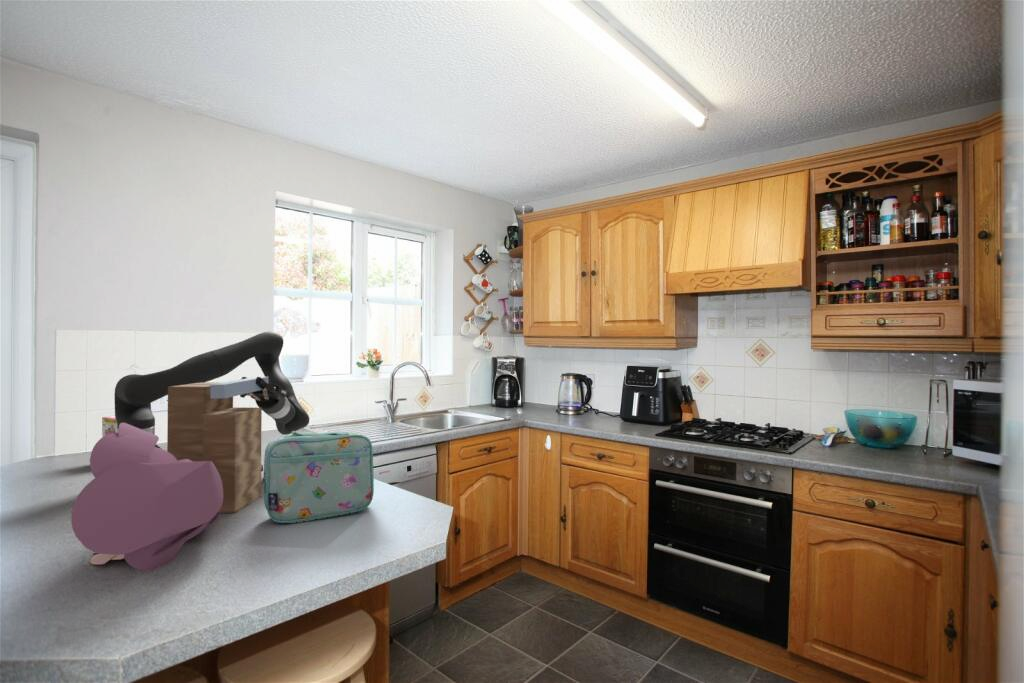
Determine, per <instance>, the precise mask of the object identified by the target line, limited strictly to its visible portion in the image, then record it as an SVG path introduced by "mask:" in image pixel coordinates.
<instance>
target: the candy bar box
mask: <svg viewBox="0 0 1024 683" xmlns="http://www.w3.org/2000/svg"><path fill="white" fill-rule="evenodd" d="M101 418H102V419H101V420H102V423H101V424H102V432H101V435H102V437H104V436H106V435H108V434H112V433H117V421H116V418H115V415H110V416H103V417H101ZM102 437H101V438H102Z"/></svg>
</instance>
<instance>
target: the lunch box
mask: <svg viewBox="0 0 1024 683" xmlns="http://www.w3.org/2000/svg"><path fill="white" fill-rule="evenodd" d="M373 450H374V448H373V443H372V441H371V439H370V438H369V437H368V436H366V435H363V434H362V433H359V432H352V431H351V432H350V431H340V432H339V431H338V432H336V431H335V432H330V431H329V432H328V431H327V432H319V433H318V432H314V433H313V432H312V433H306V432H305V433H299V432H297V431H292V433H291V435H290V434H289V435H283V436H282V437H281V436H280V437H278V438H275V439H272V440H271V441H269V442H268V444H267V445H266V448H265V450H264V459H263V461H264V462H263V477H262V478H261V484H260V486H259V487H261V488H262V486H263V501H264V502H263V503H264V508H265V510H266V511H267V515H268V516H269V519H271V520H272V521H273V522H275V523H278V524H294V523H295V524H297V523H304V522H303V521H305V522H309V520H311V521H315V519H317V520H323V519H327V517H328V518H332V517H337V516H338V515H339V516H344V515H345V514H346V515H350V514H354V513H358V512H361V511H362V510H364V509H367V508H368V507H369V506H370V504H371V503H372V501H373V498H374V494H375V493H374V492H375V491H374V490H375V488H374V485H375V484H374V481H375V480H374V479H375V478H374V451H373ZM349 513H350V514H349ZM339 516H338V517H339ZM322 518H323V519H322ZM296 522H297V523H296Z"/></svg>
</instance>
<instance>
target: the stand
mask: <svg viewBox="0 0 1024 683" xmlns="http://www.w3.org/2000/svg"><path fill="white" fill-rule="evenodd" d="M217 383H218V382H209V381H208V382H201V383H193V384H186V385H178V386H171V387H168V395H167V431H166V432H167V436H166V437H167V438H166V439H167V448H166V449H167V450H166V451H168V452H169V453H171V454H172V455H173V456H174V457H175V458H176V459H177V460H183V459H189V460H191V461H193V462H198V461H211V462H213V464H214V465H215V467H216V469H217V471H218V473H219V475H220V478H221V481H222V485H223V503H222V505H221V508H220V514H236V513H237V512H239V511H241V510H242V509H243V508H246V506H248V505H249V504H251V503H253V502H255V501H256V500H258V499H260V498H261V497H262V486H261V487H259V486H260V484H261V482H262V471H261V465H262V419H263V418H262V414H263V413H262V411H263V410H262V408H259V407H234V396H233V397H229V398H211V388H210V385H211V384H217Z"/></svg>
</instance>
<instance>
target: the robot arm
mask: <svg viewBox="0 0 1024 683" xmlns="http://www.w3.org/2000/svg"><path fill="white" fill-rule="evenodd" d="M283 347H284V337H283V336H282V335H281V334H280V333H278V332H275V331H264V332H260V333H258V334H255V335H253V336H250V337H248V338H246V339H243V340H242V341H239V342H236V343H233V344H229V345H226V346H223V347H220V348H218V349H213V350H209V351H208V352H203V353H201V354H198V355H195V356H193V357H190V358H188V359H186V360H184V361H183V362H180V363H179V364H177V365H176V366H173V367H170V368H168V369H163V370H160V371H156V372H153V373H147V374H138V373H137V374H136V373H134V374H133V373H132V374H128V375H125V376H123V377H121V378H120V379H119V380H118V381H117V382H116V385H115V387H114V416H115V418H116V421H117V433H118V429H119V425H120V423H127V424H129V425H132V426H134V427H137V428H139V429H142V430H144V431H147V432H149V433H152V434H154V435H156V419H155V416H154V414H153V411H152V403H154V402H156V401H157V400H159V399H162V398H163V397H166V396H168V387H171V386H178V385H186V384H193V383H201V382H208V383H209V382H210V381H213V380H215V379H216V380H217V379H219V378H222V377H223V376H226V375H228V374H229V373H231V372H233V370H235V369H237V368H238V367H239V366H241V365H242V364H243V363H245V362H246V361H249V360H250V359H252V358H254V359H255V361H256V363H257V365H258V367H259V368H260V370H261V371H262V374H263V377H268V382H265V381H264V380H263V379H262V378H261V377H262V376H256V377H257V378H256V384H257V385H258V386H259V387H260V388H261V389H262V390H259V391H255V392H251V393H246V394H242V395H239V397H240V398H243V399H244V398H245V397H246V396H247V397H250V398H251V399H253V400H254V401H255V404H256V406H257V408H262V411H263V412H264V413H265V414H266V415H267V416H269V417H271V418H272V419H273V421H274V422H275V427H276V429H277V431H278V432H279V434H281V435H283V436H289V435H290V434H291V435H292V431H295V432H297V431H299V430H302V429H304V428H306V427H307V426H308V425H309V424H310V416H309V414H308V413H307V411H306V410H305V409H304V407H303V406H302V405H301V404H300V402H299V401H298V399H297V397H296V393H295V390H294V387H293V385H292V383H291V381H290V380H289V379H288V377H287V376H286V375H285V374H284V372H283V371H282V369H281V363H280V355H281V352H282V349H283ZM246 378H247V376H242V377H241V378H240V379H246Z"/></svg>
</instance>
